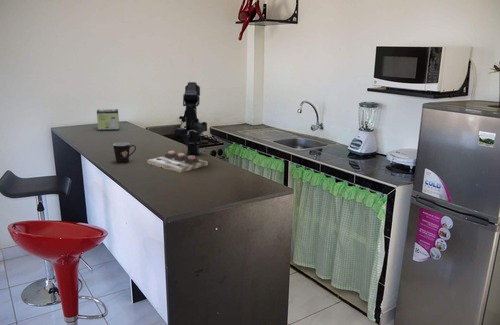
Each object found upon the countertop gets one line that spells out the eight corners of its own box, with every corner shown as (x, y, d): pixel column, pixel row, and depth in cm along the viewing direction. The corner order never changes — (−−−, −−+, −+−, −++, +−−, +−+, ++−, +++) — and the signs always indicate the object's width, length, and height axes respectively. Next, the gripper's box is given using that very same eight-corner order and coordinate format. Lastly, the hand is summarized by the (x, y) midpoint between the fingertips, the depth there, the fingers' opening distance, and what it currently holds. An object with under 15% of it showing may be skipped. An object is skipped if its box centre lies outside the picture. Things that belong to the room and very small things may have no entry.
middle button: (181, 156, 211) (181, 152, 210) (186, 157, 209) (186, 153, 208) (176, 157, 208) (176, 153, 207) (181, 158, 206) (181, 154, 205)
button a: (171, 153, 215) (171, 150, 215) (176, 154, 213) (176, 151, 213) (166, 154, 213) (166, 151, 212) (171, 155, 211) (171, 152, 210)
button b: (191, 158, 206) (191, 155, 206) (196, 159, 204) (196, 156, 204) (186, 159, 203) (186, 156, 203) (191, 161, 201) (191, 157, 201)
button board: (175, 157, 222) (174, 150, 221) (207, 165, 207) (207, 158, 206) (147, 163, 207) (146, 156, 206) (180, 172, 192) (179, 165, 191)
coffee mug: (113, 164, 203) (112, 146, 200) (114, 160, 211) (113, 142, 208) (136, 163, 206) (135, 145, 203) (136, 159, 214) (135, 142, 211)
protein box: (98, 129, 302) (97, 109, 298) (119, 128, 306) (118, 109, 302) (97, 131, 292) (96, 111, 288) (119, 130, 297) (118, 110, 293)
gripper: (188, 120, 186) (189, 151, 190) (214, 116, 200) (214, 145, 204) (173, 117, 192) (174, 147, 196) (199, 114, 207) (199, 142, 211)
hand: (191, 145), depth 202 cm, fingers open, 5 cm apart
